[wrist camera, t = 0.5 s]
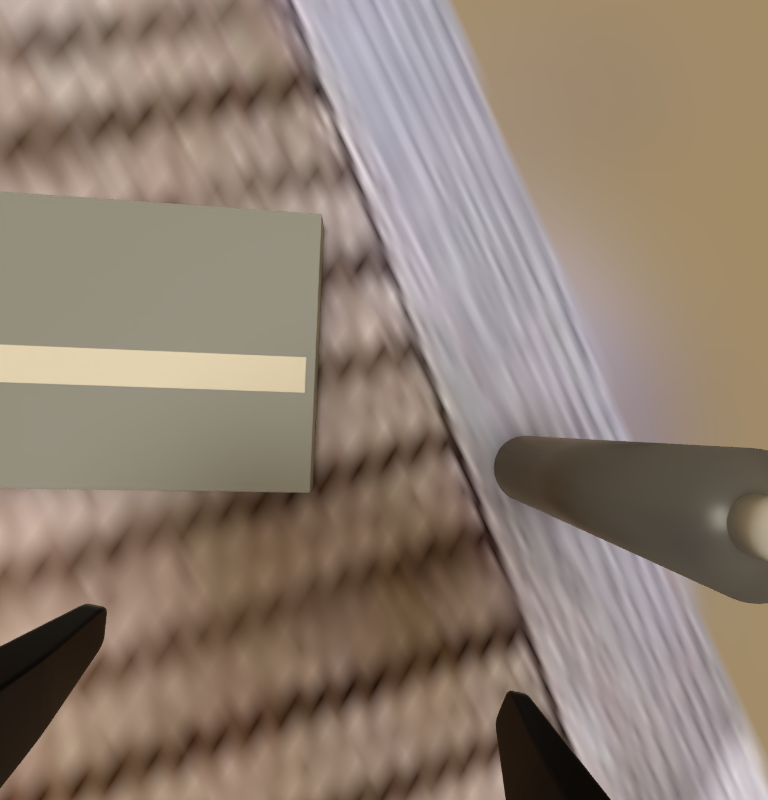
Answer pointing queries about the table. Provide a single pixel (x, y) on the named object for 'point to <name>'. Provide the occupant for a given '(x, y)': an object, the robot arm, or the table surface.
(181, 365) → the board
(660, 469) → the bottle
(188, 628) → the table surface
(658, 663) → the table surface
